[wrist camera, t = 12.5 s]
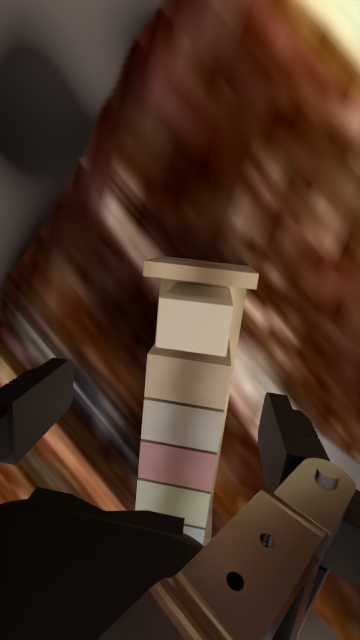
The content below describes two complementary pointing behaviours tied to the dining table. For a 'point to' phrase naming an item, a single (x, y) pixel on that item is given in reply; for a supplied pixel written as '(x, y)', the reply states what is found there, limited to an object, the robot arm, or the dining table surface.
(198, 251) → the dining table surface
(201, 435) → the pastel slab stack
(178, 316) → the cream block
